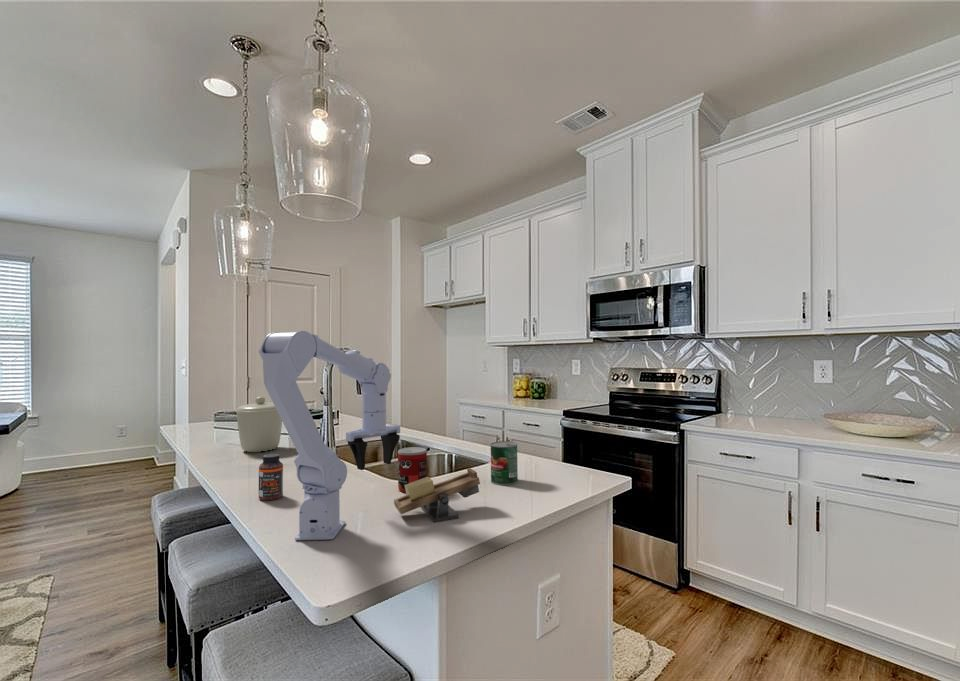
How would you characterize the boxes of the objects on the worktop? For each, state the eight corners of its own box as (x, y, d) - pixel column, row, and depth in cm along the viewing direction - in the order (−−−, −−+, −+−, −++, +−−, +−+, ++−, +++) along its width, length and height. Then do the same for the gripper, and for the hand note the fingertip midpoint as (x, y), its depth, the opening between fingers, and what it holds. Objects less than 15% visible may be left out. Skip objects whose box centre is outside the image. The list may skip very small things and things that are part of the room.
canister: (277, 443, 195) (277, 393, 195) (291, 450, 181) (291, 396, 181) (230, 449, 183) (229, 396, 183) (240, 457, 169) (240, 400, 169)
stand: (433, 522, 103) (433, 499, 104) (419, 505, 115) (419, 484, 115) (458, 518, 106) (458, 495, 106) (442, 502, 117) (441, 481, 117)
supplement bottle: (260, 503, 118) (260, 458, 118) (256, 496, 123) (256, 454, 123) (285, 498, 122) (284, 455, 122) (280, 492, 127) (280, 451, 127)
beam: (402, 522, 104) (398, 502, 103) (396, 514, 109) (392, 495, 109) (482, 491, 112) (477, 472, 111) (472, 485, 117) (468, 467, 117)
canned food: (395, 487, 130) (395, 448, 130) (423, 484, 133) (423, 445, 133) (401, 495, 123) (400, 454, 123) (430, 491, 126) (429, 451, 126)
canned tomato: (487, 484, 132) (486, 445, 132) (495, 476, 140) (494, 440, 140) (514, 486, 130) (513, 447, 130) (520, 478, 137) (520, 441, 137)
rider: (411, 503, 106) (408, 489, 106) (407, 499, 109) (404, 485, 109) (435, 494, 108) (432, 480, 108) (431, 490, 111) (428, 476, 111)
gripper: (357, 415, 106) (357, 475, 106) (407, 409, 117) (407, 463, 116) (341, 413, 111) (341, 469, 111) (391, 407, 121) (391, 459, 121)
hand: (374, 466), depth 114 cm, fingers open, 7 cm apart
